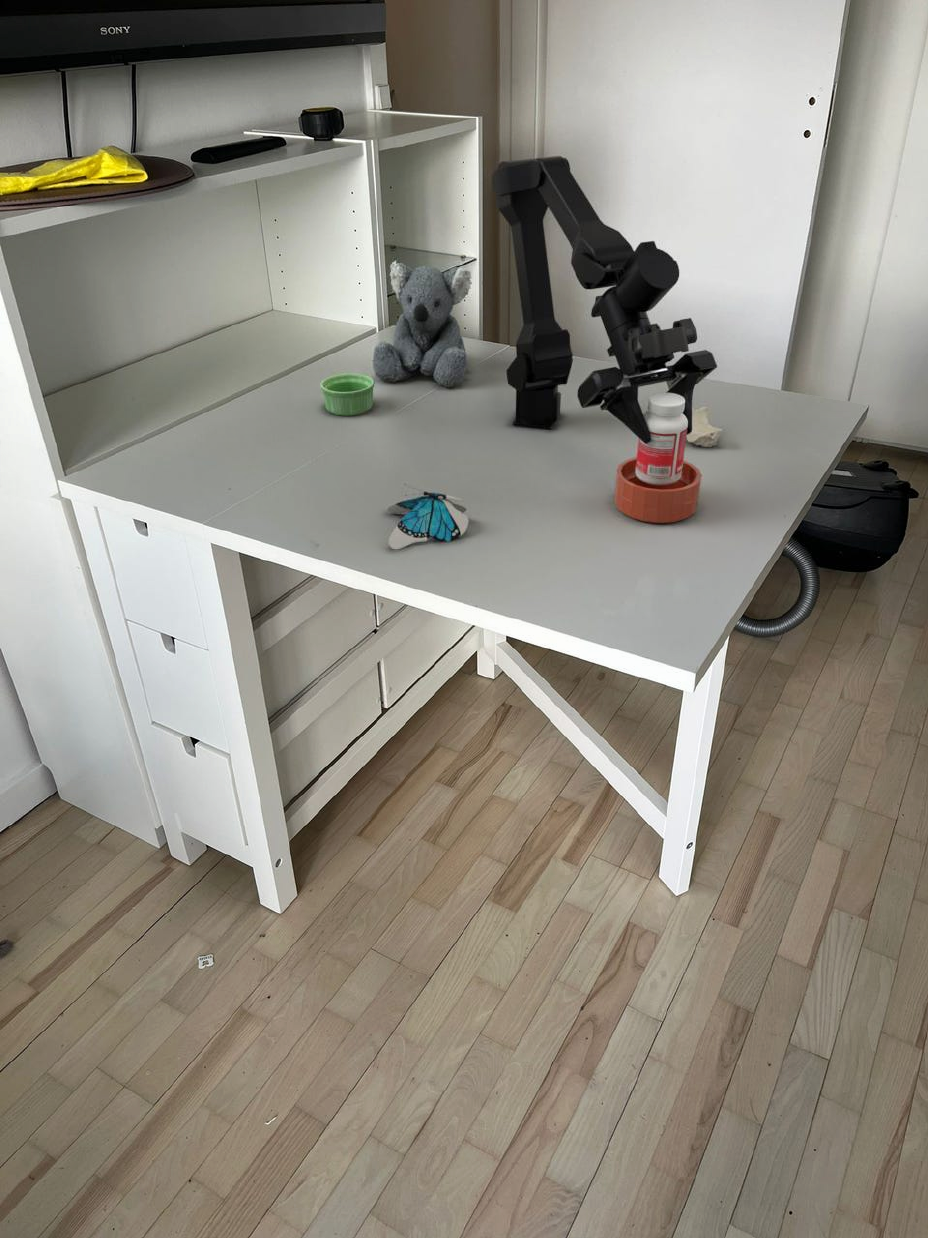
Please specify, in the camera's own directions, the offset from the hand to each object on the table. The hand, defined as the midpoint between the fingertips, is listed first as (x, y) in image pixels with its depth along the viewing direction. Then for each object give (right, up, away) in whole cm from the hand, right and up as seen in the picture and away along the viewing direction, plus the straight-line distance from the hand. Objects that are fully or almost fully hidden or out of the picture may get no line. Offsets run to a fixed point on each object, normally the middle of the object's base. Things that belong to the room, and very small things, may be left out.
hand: (668, 437), depth 125 cm
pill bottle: (-1, -5, +5) cm, 7 cm away
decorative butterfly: (-32, -12, +2) cm, 34 cm away
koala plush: (-34, +22, +53) cm, 67 cm away
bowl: (0, -8, +7) cm, 11 cm away
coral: (+9, +5, +26) cm, 28 cm away
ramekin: (-46, +12, +38) cm, 61 cm away
